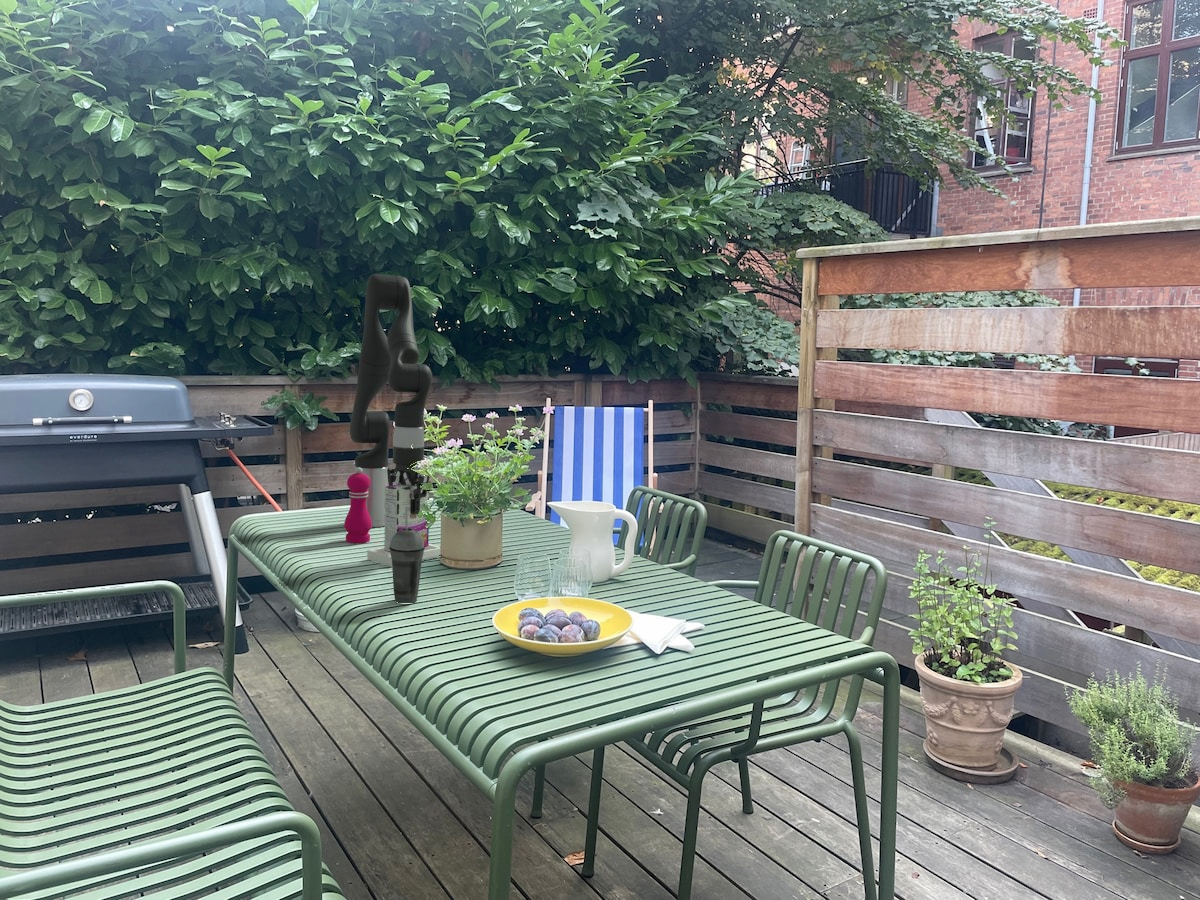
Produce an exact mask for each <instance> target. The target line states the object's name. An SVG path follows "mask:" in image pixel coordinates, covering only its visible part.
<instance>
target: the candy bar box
mask: <svg viewBox="0 0 1200 900" xmlns="http://www.w3.org/2000/svg"><path fill="white" fill-rule="evenodd" d="M414 486H417V485H414ZM414 486H413V487H414ZM422 491H423V489H422V490H421V493H422ZM414 493H415V494H416V490H414ZM427 500H429V501H430V490H429V491H427V495H426V497H423V498H421V499H420V511H419V513H418V514H414V515H413V514H411V513H410V507H411V496H410V490H409V487H407V485H402V484H399V485H394V484H393V485H392V486H389V485H387V486H386V487H385V526H384V547H385V551H387V552H390V549H389V547H390V543H391V540H392V537H393V536H394V535H395V534H396V533H397V532H398V531H399V530H402V529H405V507H408V528H409V529H413V530H415V531H417V532H418V533H419V534H420V535H421V537H422V539H423V542H424V547H427V546H429V545H428V544H429V537H430V535H429V529H430V528H429V527H430V526H429V527H428V528H426V527H425V525H426V524H427V521H426V520H425V519H424V518H423V513H422V509H421V508H422V505H423V503H427V502H425V501H427ZM423 529H424V530H423Z"/></svg>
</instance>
